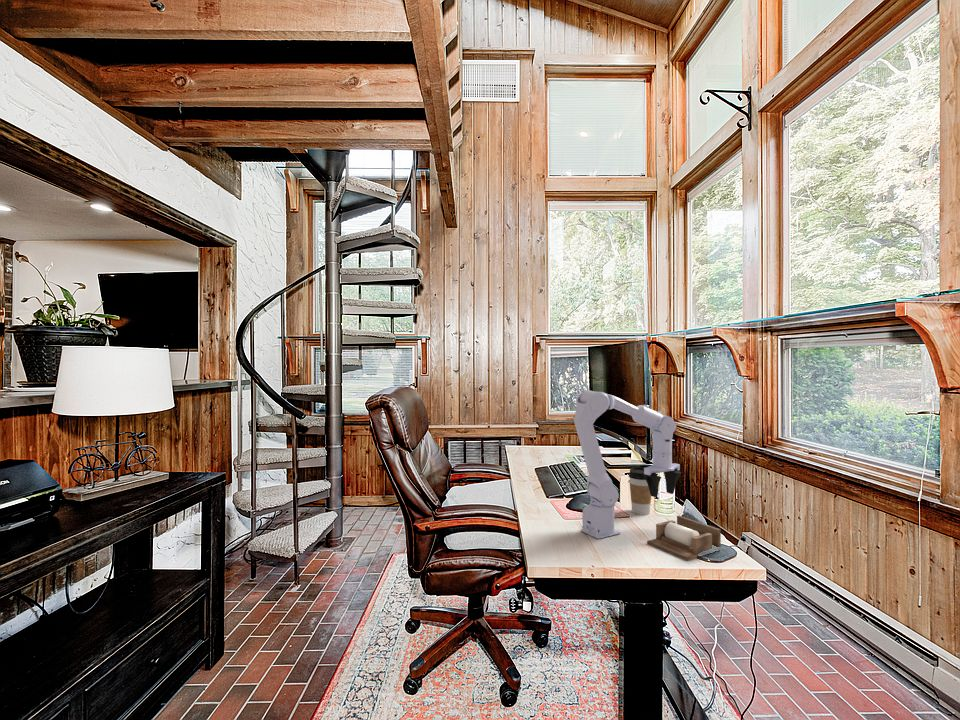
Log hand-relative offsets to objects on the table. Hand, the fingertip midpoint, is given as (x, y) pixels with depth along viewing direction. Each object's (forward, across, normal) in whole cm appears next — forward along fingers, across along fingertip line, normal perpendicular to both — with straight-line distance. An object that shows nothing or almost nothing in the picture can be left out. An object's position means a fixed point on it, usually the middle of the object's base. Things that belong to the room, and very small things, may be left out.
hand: (662, 494), depth 152 cm
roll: (+7, -8, -14) cm, 17 cm away
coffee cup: (+11, +6, +14) cm, 19 cm away
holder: (+10, -8, -14) cm, 19 cm away
